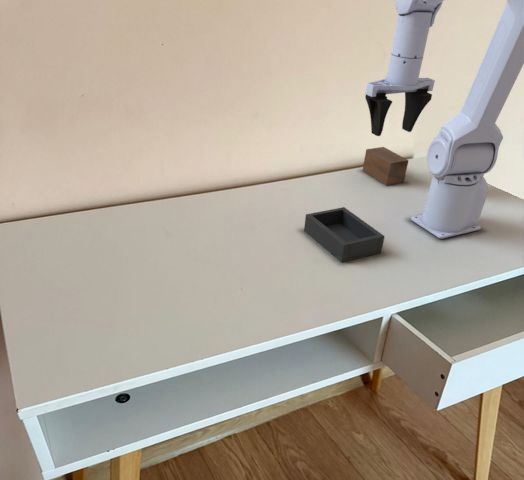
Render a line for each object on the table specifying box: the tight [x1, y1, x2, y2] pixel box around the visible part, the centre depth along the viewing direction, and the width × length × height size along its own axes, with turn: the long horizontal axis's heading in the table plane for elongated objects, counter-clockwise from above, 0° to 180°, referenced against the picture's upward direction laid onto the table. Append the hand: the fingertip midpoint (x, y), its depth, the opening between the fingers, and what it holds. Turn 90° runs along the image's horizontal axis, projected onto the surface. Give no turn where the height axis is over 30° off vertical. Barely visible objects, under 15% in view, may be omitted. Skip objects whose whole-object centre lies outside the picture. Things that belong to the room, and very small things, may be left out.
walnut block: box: [362, 146, 410, 186], centre depth 112 cm, size 4×8×4 cm, turn 28°
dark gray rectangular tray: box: [303, 206, 386, 263], centre depth 90 cm, size 8×11×3 cm
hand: (391, 132), depth 108 cm, fingers open, 7 cm apart
